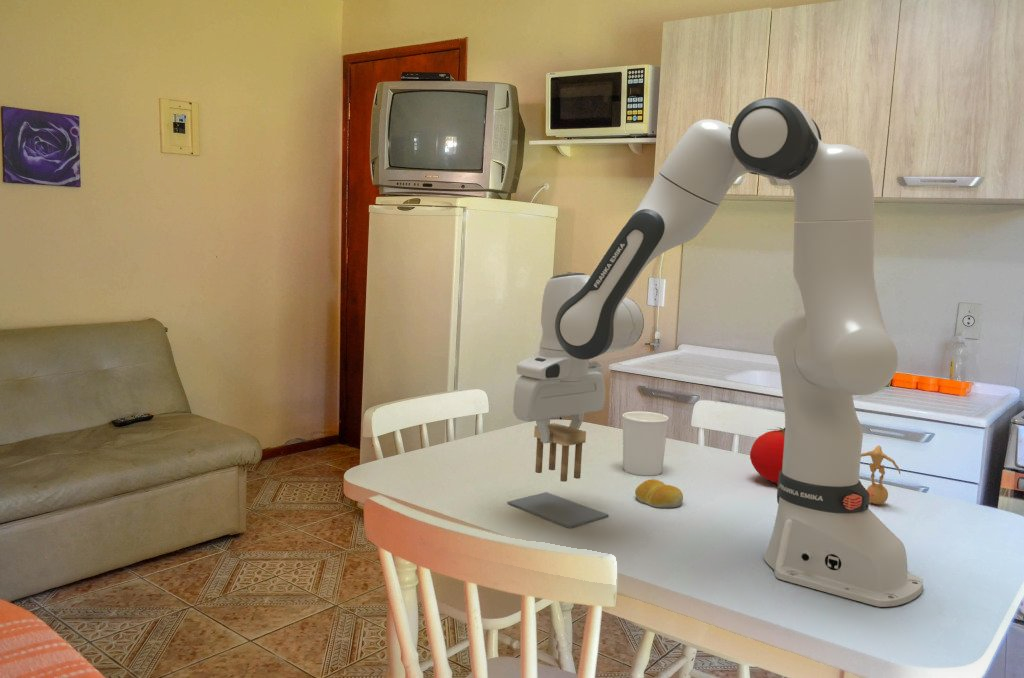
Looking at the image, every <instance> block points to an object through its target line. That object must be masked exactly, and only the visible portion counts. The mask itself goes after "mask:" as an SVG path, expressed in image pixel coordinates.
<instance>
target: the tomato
mask: <svg viewBox="0 0 1024 678" xmlns="http://www.w3.org/2000/svg"><path fill="white" fill-rule="evenodd" d="M775 427H776V428H771V429H770V428H768V430H770V431H767V432H765V433H763V434H761V435H759V436H758V437H757V438H756V439H755V441H754V442H753V444H752V446H751V449H750V453H749V459H750V462H751V464H752V466H753V469H754V470H755V471H756V472H757V473H758V474H759V475H760V476H761V477H762V478H764V479H766V480H768V481H770V482H773V483H775V484H778V479H779V472H780V471H781V470H782V466H783V453H784V438H785V427H783V428H781V427H778V426H775Z"/></svg>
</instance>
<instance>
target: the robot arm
mask: <svg viewBox="0 0 1024 678" xmlns="http://www.w3.org/2000/svg"><path fill="white" fill-rule="evenodd" d="M732 122H733V123H732V125H730V124H728V123H727V122H724V121H721V120H718V119H713V118H704V119H700V120H697V121H696V122H694V123H692V125H691V126H689V127H688V129H687V130H686V132H685V133H684V134H683V135H682V137H681V138H680V139H679V140H678V142H676V144H675V146H674V147H673V149H672V150H671V151H670V152H669V154H668V156H667V157H666V159H665V161H664V162H663V164H662V166H661V167H660V169H659V171H658V172H657V174H656V175H655V177H654V179H653V181H652V183H651V185H650V187H649V188H648V189H647V192H646V193H645V195H644V196H643V198H642V200H641V201H640V203H639V205H638V206H637V208H636V209H635V211H634V212H633V213H632V215H630V218H629V219H628V221H627V222H626V223H625V225H624V226H623V227H622V229H621V230H620V231H619V233H618V234H617V235H616V237H615V239H614V240H613V242H612V243H611V245H610V246H609V248H608V249H607V251H606V252H605V254H604V255H603V257H602V259H601V260H600V261H599V263H598V265H597V266H596V268H595V269H594V271H593V272H592V274H591V275H589V274H587V273H585V272H584V273H583V272H575V273H563V274H558V275H554V276H552V277H550V278H549V279H548V280H547V282H546V284H545V287H544V290H543V295H542V302H541V303H542V304H541V313H540V325H541V329H542V330H541V331H542V333H541V334H542V336H541V339H540V342H539V351H538V352H536V353H534V354H533V355H531V356H529V357H528V358H525V359H523V360H522V361H520V362H518V363H517V365H516V374H517V375H520V376H519V377H518V378H517V379H516V382H515V385H514V391H513V392H514V393H513V401H512V402H513V405H512V409H513V410H512V411H513V415H514V416H515V418H516V419H517V420H519V421H523V422H527V423H530V422H531V423H532V422H535V424H536V426H538V428H539V431H540V432H541V436H540V440H541V442H542V443H543V444H550V443H551V442H553V433H551V432H550V431H549V428H548V425H550V424H551V419H556V418H557V419H558V418H564V417H570V418H571V421H570V423H569V426H568V427H571V428H575V429H579V430H580V428H581V426H582V423H583V422H584V420H585V414H589V413H597V412H601V411H603V409H604V408H605V406H606V405H605V404H606V383H605V377H604V368H603V367H602V365H601V364H600V363H599V362H598V361H595V360H593V361H591V362H590V361H589V360H591V359H594V358H596V357H599V356H602V355H604V354H610V353H614V352H617V351H621V350H625V349H627V348H629V347H632V346H634V345H635V344H636V343H637V342H638V341H639V339H640V338H641V336H642V334H643V333H644V332H643V331H644V327H645V320H644V314H643V311H642V310H641V308H640V306H639V305H638V303H636V302H635V301H634V300H633V299H631V298H629V297H627V295H628V293H629V292H630V290H631V289H632V287H633V286H634V285H635V283H636V282H637V280H638V279H639V277H640V275H641V274H642V272H643V271H644V270H645V268H646V267H647V266H648V265H649V264H650V263H651V262H653V261H654V259H657V257H659V256H660V255H662V254H664V253H666V252H667V251H670V250H671V249H673V248H675V247H678V246H681V245H683V244H686V243H688V242H690V241H692V240H693V239H695V238H696V237H697V236H698V235H699V234H700V233H701V232H702V231H703V230H704V228H705V227H706V226H707V225H708V223H709V222H710V221H711V219H712V218H713V217H714V215H715V213H716V211H717V209H718V208H719V207H720V204H722V201H723V200H724V198H725V196H726V194H727V193H728V191H729V190H730V188H731V186H732V185H733V184H734V183H735V182H736V181H737V179H739V178H740V177H741V176H743V175H745V174H751V175H756V176H761V177H764V178H769V179H775V180H777V179H778V180H786V181H787V182H788V183H789V185H790V186H791V189H792V193H793V196H794V197H793V198H794V199H793V200H794V212H793V213H794V217H793V218H794V219H793V222H794V223H793V261H792V262H793V265H792V268H793V270H792V272H793V278H794V280H795V282H796V284H797V285H798V289H799V291H800V292H799V293H800V295H801V296H800V297H801V299H802V304H803V309H804V312H801V313H799V314H795V315H792V316H789V317H788V318H786V319H785V320H784V321H782V323H781V324H780V325H778V328H777V329H776V331H775V332H774V337H773V341H772V345H773V347H772V348H773V351H774V355H775V357H776V360H777V362H778V367H779V374H780V383H781V385H780V386H781V392H782V393H781V394H782V401H783V409H784V425H785V426H784V428H785V438H784V453H783V466H782V470H781V471H780V472H779V479H778V483H777V490H776V491H777V492H776V499H777V500H776V502H777V510H776V511H777V512H776V516H775V520H774V521H775V522H774V525H773V528H772V529H773V530H772V534H771V537H770V540H769V543H768V546H767V549H766V551H765V553H764V555H763V559H764V561H765V562H766V564H767V565H768V566H770V568H771V569H772V570H774V571H773V573H774V576H775V577H776V579H779V580H781V581H784V582H788V583H792V584H795V585H799V586H803V587H807V588H810V589H813V590H817V591H821V592H825V593H828V594H832V595H835V596H839V597H841V598H846V599H849V600H853V601H858V602H861V603H864V604H867V605H871V606H875V607H879V608H882V607H883V608H885V607H886V608H887V607H896V606H899V605H904V604H906V603H909V602H911V601H914V600H915V599H917V598H918V597H919V596H920V595H921V594H922V592H923V589H924V583H923V579H922V578H921V576H919V575H916V574H914V573H911V572H909V570H908V558H907V552H906V547H905V544H904V543H903V541H902V540H901V539H900V538H899V537H898V536H897V535H896V534H894V532H892V530H890V528H889V527H888V526H887V525H885V524H884V522H883V521H882V520H881V519H879V517H877V515H876V514H875V513H874V512H873V511H872V510H871V509H870V507H869V505H870V501H869V498H871V497H874V495H872V494H873V493H874V491H875V490H874V489H872V490H870V491H867V488H865V486H864V485H863V484H862V482H861V481H860V470H861V458H862V457H861V454H862V447H863V438H864V437H863V436H864V434H863V432H864V431H863V426H862V424H861V423H860V420H859V417H858V415H857V412H856V408H855V407H856V406H855V403H854V397H853V396H864V395H865V396H867V395H868V396H869V395H871V394H875V393H877V392H879V391H881V390H882V389H884V388H885V387H887V385H889V383H890V382H891V381H892V379H893V378H894V376H895V374H896V372H897V369H898V364H899V354H898V351H897V347H896V345H895V343H894V341H893V340H892V339H891V337H890V335H889V334H888V332H887V330H886V326H885V323H884V320H883V316H882V312H881V311H882V310H881V307H880V303H879V299H878V298H879V297H878V294H877V288H876V281H875V270H874V259H875V258H874V256H875V255H874V250H875V247H874V246H875V245H874V244H875V243H874V242H875V194H874V183H873V176H872V171H871V165H870V160H869V158H868V156H867V155H866V153H865V152H864V151H863V150H861V149H859V148H858V147H855V146H853V145H849V144H845V143H825V142H824V141H822V134H821V131H820V128H819V127H818V124H817V123H816V122H815V120H814V119H813V118H812V117H811V116H810V115H809V113H808V112H807V111H805V110H804V109H803V108H802V107H800V106H799V105H797V104H795V103H793V102H790V101H789V100H787V99H784V98H780V97H765V98H760V99H756V100H754V101H752V102H751V103H748V104H747V105H746V106H745V107H744V108H742V109H741V110H740V111H739V113H738V114H737V115H736V117H735V119H734V121H732Z"/></svg>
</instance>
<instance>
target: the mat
mask: <svg viewBox="0 0 1024 678" xmlns="http://www.w3.org/2000/svg"><path fill="white" fill-rule="evenodd" d="M507 505H510V506H513V507H515V508H518V509H519V510H522V511H525V512H527V513H529V514H533V515H535V516H537V517H540V518H543V519H545V520H547V521H550V522H553V523H555V524H558V525H560V526H563V527H564V528H565V527H566V528H568V529H571V528H572V529H573V528H575V527H578V526H582V525H585V524H588V523H593V522H596V521H599V520H602V519H606V518H609V516H610V515H609V514H608V513H605V512H602V511H599V510H598V509H594V508H591V507H589V506H586V505H583V504H581V503H577V502H575V501H572V500H570V499H566V498H564V497H561V496H558V495H556V494H553V493H550V492H548V491H547V492H540V493H538V494H533V495H529V496H525V497H521V498H517V499H513V500H509V501H507Z"/></svg>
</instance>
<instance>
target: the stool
mask: <svg viewBox="0 0 1024 678" xmlns="http://www.w3.org/2000/svg"><path fill="white" fill-rule="evenodd" d="M548 428H549V431H550V432H551V433H553V442H551V443H549V456H548V471H555V470H556V461H557V460H556V459H557V445H560V446H561V463H560V482H563V483H564V482H567V481H568V474H569V471H568V470H569V454H570V452H569V451H570V446H573V445H574V446H575V449H574V465H573V467H574V468H573V479H579V480H580V479H581V471H582V460H583V459H582V456H583V444H585V443H586V439H587V431H586V430H582V429H580V428H579V429H575V428H571V427H569V426H566V425H564V424H561V423H560V424H559V423H555V422H552V423H551V422H550V425H548ZM533 434H534V435H533V437H534V438H536V451H535V469H534V470H535V474H536V473H537V474H542V473H543V459H544V443H542V442H541V440H540V436H541V432H540V431H539V428H538V426H537V425H534V433H533Z"/></svg>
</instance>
